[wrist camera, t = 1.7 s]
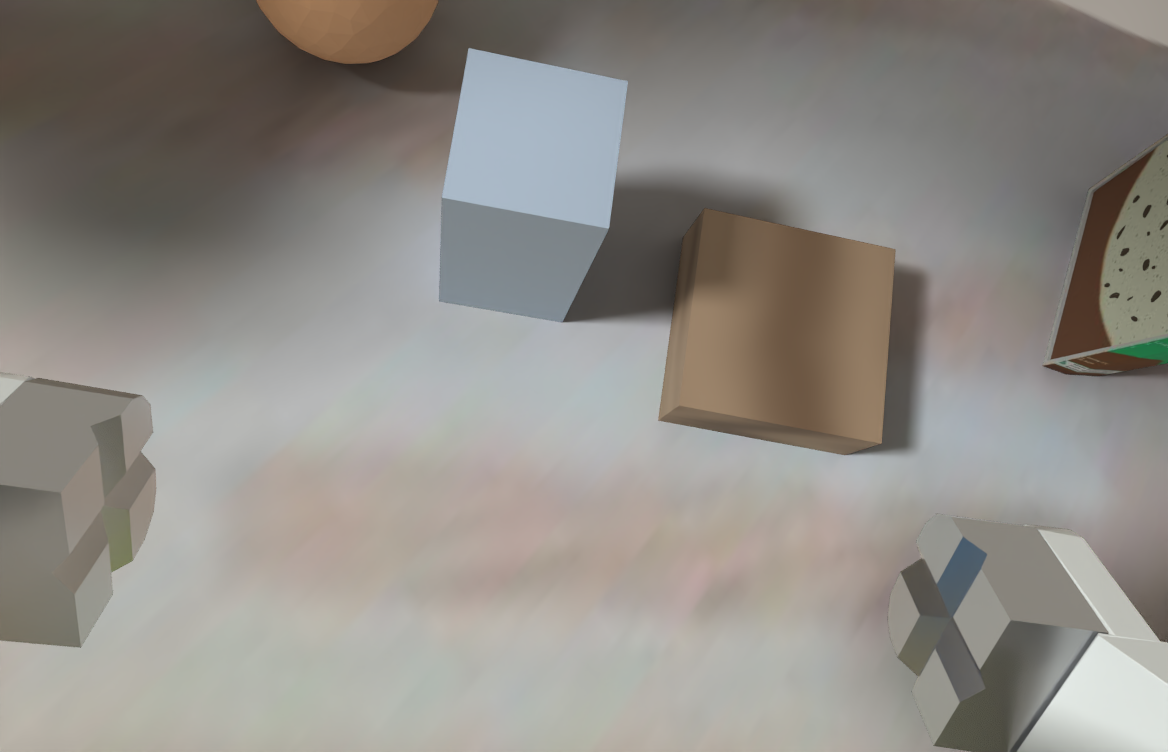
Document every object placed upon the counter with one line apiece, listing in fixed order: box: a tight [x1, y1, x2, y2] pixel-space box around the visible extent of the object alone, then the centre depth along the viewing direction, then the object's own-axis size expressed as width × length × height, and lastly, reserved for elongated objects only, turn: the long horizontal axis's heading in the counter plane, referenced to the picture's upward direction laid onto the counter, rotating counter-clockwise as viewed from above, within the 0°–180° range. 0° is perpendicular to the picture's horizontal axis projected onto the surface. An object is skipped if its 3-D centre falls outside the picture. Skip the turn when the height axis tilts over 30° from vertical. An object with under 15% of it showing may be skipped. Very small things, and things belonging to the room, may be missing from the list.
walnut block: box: [658, 208, 895, 455], centre depth 36 cm, size 8×8×4 cm
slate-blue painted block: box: [439, 48, 628, 322], centre depth 32 cm, size 5×5×10 cm
